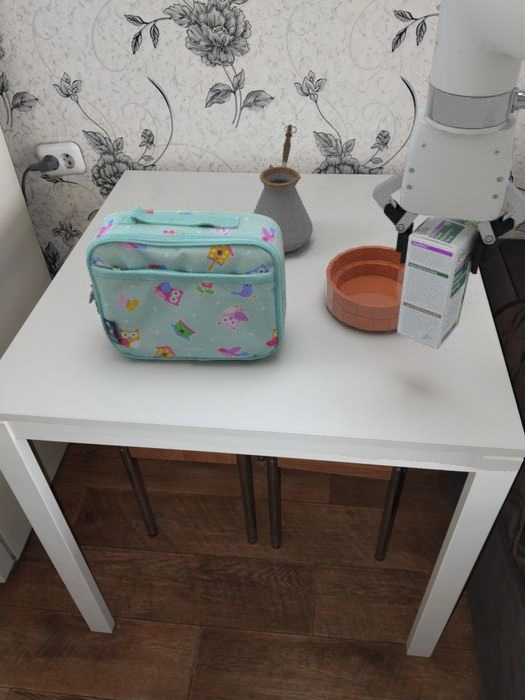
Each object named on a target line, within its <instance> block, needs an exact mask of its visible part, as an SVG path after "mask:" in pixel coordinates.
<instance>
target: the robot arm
mask: <svg viewBox="0 0 525 700" xmlns="http://www.w3.org/2000/svg"><path fill="white" fill-rule="evenodd" d="M437 17H438V19H437V26H436V32H435V38H434V39H435V40H434V46H433V54H432V61H431V69H430V77H429V82H428V91H427V97H426V105H424V106H423V107H421V108H420V109H419V110H418V112H417V115H416V118H415V121H414V123H413V127H412V131H411V135H410V139H409V143H408V149H407V154H406V158H405V165H404V168H403V169H402V170H400V171H399V172H397V173H395V174H393V175H392V176H391V177H389V178H387V179H386V180H384V181H383V182H380V183H379V184H377V185H376V186H375V187H374V189H373V191H372V194H371V195H372V198H373V200H374V201H375V202H376V203H377V205H378V206H379V207H380V208H381V209H382V210H383V214H384V215H385V216H386V217H387V219H388V220H389V221H390V222H391V223H392V224H393V225H394V227H395V228H394V229H395V231H396V232H397V236H396V245H395V249H396V252H399V253H401V258H400V263H401V264H405V263H406V256H407V249H408V241H409V235H410V234H411V233H412V232H413V231H414V225H415V222H414V221H415V220H416V219H417V218H418V216H419V215H421V216H428V217H429V216H435V217H443V218H451V219H459V220H465V221H468V222H475V223H476V225H477V226H478V228H479V231H478V234H477V239H476V243H475V248H474V252H473V256H472V262H471V269H470V273H471V275H477V274H478V271H479V266H480V265H486V264H487V260H488V256H489V252H490V248H491V245H492V244H494V242H496V239H498V238H500V237H502V236H504V235H505V234H507V233H509V232H511V231H512V230H513V229H514V228H515V227H516V226H517V225H520V224H521V223H522V222H524V221H525V195H524V194H523V192H522V191H520V190H519V189H518V187H517V186H516V185H514V183H512V181H511V180H509V179H510V175H511V169H512V164H513V158H514V152H515V151H514V150H515V144H516V138H517V137H516V136H517V116H516V114H514V113H515V111H520V109H521V110H525V92H524V90H520V87H519V86H517V85H518V81H519V77H520V73H521V69H522V64H523V62H525V0H440V3H439V11H438V16H437ZM399 190H400V194H399V195H400V196H399V203H398V201H397V200H395V199H394V198H393V196H392V194H394V193H395V192H397V191H399ZM504 202H506V203H507V204H508V205H509V206H510V207H511V208H512V209H511V210H510V211H509V212H506V213H504V214H502V215H500V214H501V211H502V208H503V206H504Z"/></svg>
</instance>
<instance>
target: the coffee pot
mask: <svg viewBox="0 0 525 700" xmlns="http://www.w3.org/2000/svg"><path fill="white" fill-rule="evenodd" d="M286 128H287V129H286ZM293 128H294V129H295V131H293ZM283 129H284V132H285V134H284V136H285V140H284V143H283V148H282V158H281V159H282V160H281V163H282V165H281V166H273V167H268V168H266V169H264V170H263V171H262V172H261V173H260V174H259V180H260V182H261V183H262V184H263V189H262V191H261V194H260V197H259V199H258V201H257V204H256V206H255V208H254V210H253V214H260V215H264V216H267V217H269V218H271V219H273V220H274V221H275V222H276V223H277V224H278V226H279V228H280V230H281V233H282V238H283V244H284V254H290V253H292V252H295V251H296V250H298V249H299V248H300V247H302V246H303V245H304V244H306V243H307V242H308V241H309V239H310V238H311V236H312V233H313V230H314V226H313V222H312V220H311V218H310V216H309V213H308V212H307V209H306V207H305V205H304V203H303V201H302V199H301V196H300V194H299V192H298V190H297V188H296V186H297V184H298V183H299V181H300V180H301V177H302V176H301V175H300V173H299V172H298V171H297V170H295V169H294V168H291V167H287V164H288V162H289V161H288V160H289V156H290V152H291V145H292V142H291V141H292V140H291V139H292V137H293V134H295V133H296V132H298V131H297V130H298V128H297V127H296V126H294V125H292V124H291V123H290V124H288V125H286V126H284V128H283Z"/></svg>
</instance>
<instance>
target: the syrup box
mask: <svg viewBox="0 0 525 700" xmlns="http://www.w3.org/2000/svg"><path fill="white" fill-rule="evenodd" d="M478 231H479V228H478V226H477V223H476V224H475V223H473V222H471V221H468V220H459V219H451V218H443V217H435V216H428V217H427V218H426V219H425V220H424V221H423V222H422V223H420V224H419V225H418V226H417V227H416V228H414V229H413V232H412V233H411V234H410V235H409V241H408V249H407V256H406V264H405V272H404V279H403V287H402V296H401V303H400V311H399V319H398V327H397V329H396V332H397V333H398V334H400V335H402V336H403V337H406V338H408V339H411V340H413V341H415V342H418V343H419V344H423V345H424V346H427V347H429V348H433V349H435V350H439V349H440V348H441V347H442V346H443V344H444V343H445V342H446V341H447V340H448V339H449V337H450V336H451V335H452V333H453V332H454V330H456V328H457V327H458V326H459V324H460V318H461V314H462V309H463V304H464V300H465V295H466V291H467V286H468V283H469V277H470V273H471V272H470V269H471V262H472V256H473V252H474V248H475V243H476V239H477V234H478Z"/></svg>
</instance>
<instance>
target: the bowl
mask: <svg viewBox="0 0 525 700" xmlns="http://www.w3.org/2000/svg"><path fill="white" fill-rule="evenodd" d="M400 258H401V253H399V252H396V247H392V246H391V247H390V246H386V245H385V246H384V245H361V246H357V247H356V246H355V247H352V248H349V249H346V250H344V251H342V252H340V253H338V254H337V255H335V257H333V258H332V259H331V260H330V261H329V263H328V265H327V268H326V271H325V284H324V285H325V286H324V288H325V289H324V299H325V305H326V307H327V309H328V310H329V312H330V313H331V314H332V315H333V316H334V317H335V318H337V319H338V320H339V321H340V322H341V323H343V324H345V325H348V326H350V327H353V328H355V329H358V330H362V331H363V330H364V331H369V332H390V331H393V330H397V327H398V319H399V311H400V303H401V296H402V287H403V279H404V272H405V264H406V263H405V264H401V263H400Z"/></svg>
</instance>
